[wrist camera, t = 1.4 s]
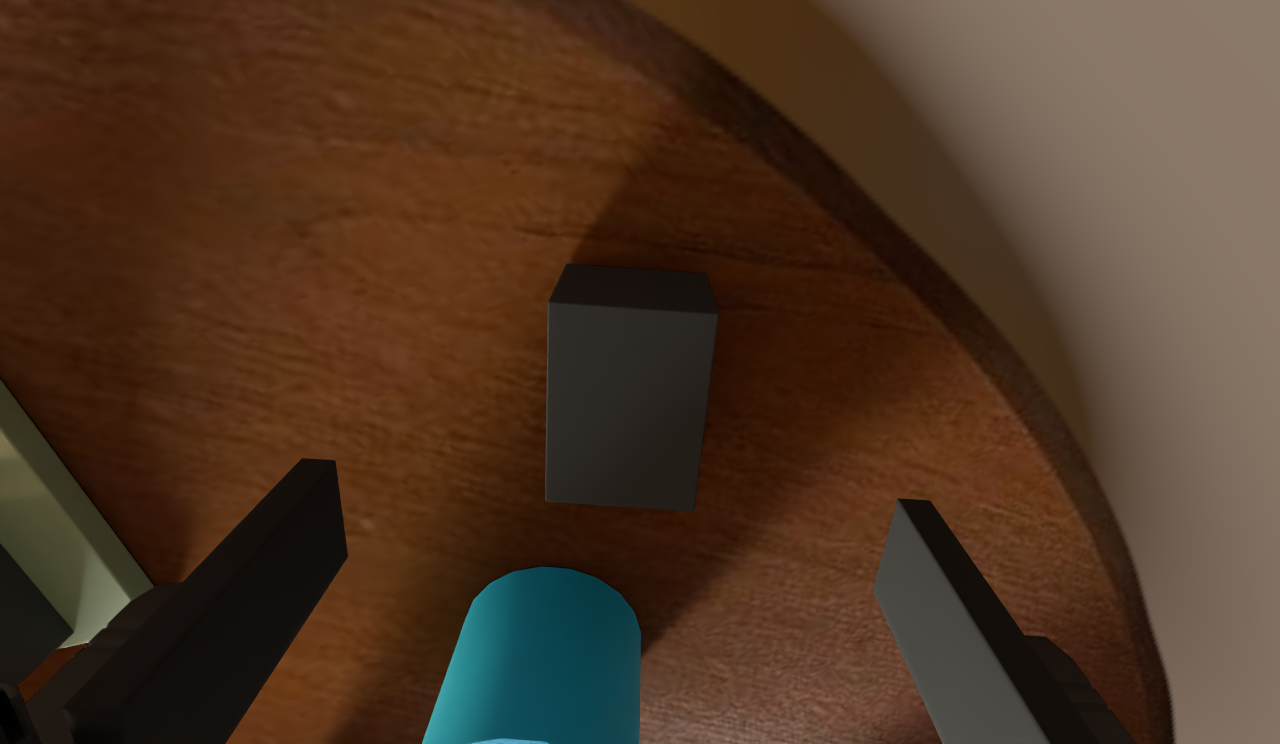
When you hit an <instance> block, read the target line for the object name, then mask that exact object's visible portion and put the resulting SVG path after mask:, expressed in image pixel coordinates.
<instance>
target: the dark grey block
mask: <svg viewBox="0 0 1280 744" xmlns="http://www.w3.org/2000/svg"><path fill="white" fill-rule="evenodd" d="M718 319H719V313H718V310H717V307H716V303H715V300H714V297H713V294H712V290H711V287H710V284H709V281H708V277H707V274H704V273H690V272H676V271H662V270H649V269H635V268H621V267H608V266H594V265H580V264H566V266H565V268H564V270H563V272H562V274H561V276H560V278H559V280H558V282H557V285H556V287H555V289H554V291H553V293H552V295H551V297H550V299H549V301H548V330H547V402H546V474H545V501H546V502H557V503H572V504H587V505H602V506H617V507H632V508H646V509H661V510H676V511H691V512H693V511H694V510H695V502H696V494H697V486H698V478H699V470H700V462H701V454H702V446H703V438H704V430H705V422H706V414H707V406H708V398H709V390H710V382H711V374H712V367H713V359H714V351H715V343H716V335H717V327H718Z"/></svg>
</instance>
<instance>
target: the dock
mask: <svg viewBox="0 0 1280 744" xmlns="http://www.w3.org/2000/svg"><path fill="white" fill-rule="evenodd" d="M153 587H154V585H153V584H152V583H151V581H150V580H149V579H148V577H147V576H146V575H145V573H144V572H143V571H142V569H141V568H140V566H139V565H138V564H137V562H136V561H135V560H134V558H133V557H132V556H131V554H130V553H129V552H128V550H127V549H126V548H125V546H124V545H123V544H122V542H121V541H120V540H119V538H118V537H117V535H116V534H115V533H114V531H113V530H112V529H111V527H110V526H109V525H108V523H107V522H106V521H105V519H104V518H103V517H102V515H101V514H100V513H99V511H98V510H97V509H96V507H95V506H94V505H93V503H92V502H91V500H90V499H89V498H88V496H87V495H86V494H85V492H84V491H83V490H82V488H81V487H80V486H79V484H78V483H77V482H76V480H75V479H74V478H73V476H72V475H71V474H70V472H69V471H68V469H67V468H66V467H65V465H64V464H63V463H62V461H61V460H60V459H59V457H58V456H57V455H56V453H55V452H54V451H53V449H52V448H51V447H50V445H49V444H48V443H47V441H46V440H45V438H44V437H43V436H42V434H41V433H40V432H39V430H38V429H37V428H36V426H35V425H34V424H33V422H32V421H31V420H30V418H29V417H28V416H27V414H26V413H25V412H24V410H23V409H22V407H21V406H20V405H19V403H18V402H17V401H16V399H15V398H14V397H13V395H12V394H11V393H10V391H9V390H8V389H7V387H6V386H5V385H4V383H3V382H2V381H1V379H0V678H4V679H7V680H9V681H12V682H14V683H17V686H18V685H19V684H20V683H21V682H22V681H23V680H24V679H26V678H27V677H28V676H29V675H30V674H31V673H32V672H33V671H34V670H35V669H36V668H37V667H38V666H39V665H40V664H41V663H43V662H44V661H45V660H46V659H47V658H48V657H49V656H50V655H51V654H52V653H53V652H54V651H55V650H56V649H60V648H65V647H69V646H74V645H78V644H82V643H87V642H89V641H90V640H91V639H92V638H93V637H94V636H95V635H96V634H97V633H98V632H99V631H100V630H101V629H102V628H106V627H107V624H108V623H109V622H110V621H111V620H112V619H113V618H114V617H115V616H116V615H117V614H118V613H119V612H120V611H121V610H122V609H123V608H124V607H125V606H126V605H127V604H128V603H129V602H130V601H132V600H133V599H135V598H137V597H138V596H140V595H141V594H143V593H145V592H146V591H148V590H150V589H151V588H153Z"/></svg>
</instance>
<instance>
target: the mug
mask: <svg viewBox="0 0 1280 744" xmlns="http://www.w3.org/2000/svg"><path fill="white" fill-rule="evenodd" d="M640 666H641V631H640V628H639V625H638V621H637V618H636V615H635V612H634V611H633V609H632V608H631V607H630V605H629V604H628V603H627V602H626V600H625V599H624V598H623V597H622V595H621V594H620V593H619V592H617V591H616V590H615V589H613V588H612V587H610V586H609V585H607V584H606V583H604V582H603V581H601V580H600V579H598V578H596V577H593V576H590V575H587V574H584V573H581V572H578V571H575V570H572V569H566V568H553V567H536V568H530V569H525V570H519V571H514V572H511V573H509V574H507V575H505V576H503V577H501V578H499V579H497V580H495V581H493V582H491V583H490V584H489V585H488V586H487V587H486V588H485V589H484V590H483V591H482V592H481V593H480V594H479V595H478V596H477V597H476V598H475V599H474V600H473V602H472V605H471V607H470V609H469V612H468V614H467V617H466V619H465V622H464V625H463V628H462V630H461V633H460V636H459V639H458V642H457V645H456V648H455V650H454V653H453V656H452V659H451V662H450V665H449V668H448V670H447V673H446V676H445V679H444V682H443V685H442V688H441V690H440V693H439V696H438V699H437V702H436V705H435V708H434V711H433V713H432V716H431V719H430V722H429V725H428V728H427V731H426V733H425V736H424V739H423V742H422V744H639V724H640Z"/></svg>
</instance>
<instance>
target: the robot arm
mask: <svg viewBox="0 0 1280 744" xmlns="http://www.w3.org/2000/svg"><path fill="white" fill-rule="evenodd" d="M347 557H348V553H347V545H346V538H345V530H344V523H343V515H342V507H341V500H340V492H339V485H338V477H337V469H336V462H335V460H320V459H305V458H302V459H301V460H300V461H299V462H298V463H297V464H296V465H295V466H294V467H293V468H292V469H291V470H290V471H289V472H288V473H287V474H286V475H285V477H284V478H283V479H282V480H281V481H280V482H279V483H278V484H277V485H276V486H275V487H274V488H273V489H272V490H271V491H270V492H269V493H268V494H267V495H266V496H265V497H264V498H263V499H262V500H261V501H260V502H259V504H258V505H257V506H256V507H255V508H254V509H253V510H252V511H251V512H250V513H249V514H248V515H247V516H246V517H245V518H244V519H243V520H242V521H241V522H240V523H239V524H238V525H237V526H236V527H235V528H234V529H233V531H232V532H231V533H230V534H229V535H228V536H227V537H226V538H225V539H224V540H223V541H222V542H221V543H220V544H219V545H218V546H217V547H216V548H215V549H214V550H213V551H212V552H211V553H210V554H209V555H208V557H207V558H206V559H205V560H204V561H203V562H202V563H201V564H200V565H199V566H198V567H197V568H196V569H195V570H194V571H193V572H192V573H191V574H190V575H189V576H188V577H187V578H186V579H185V580H184V581H183V582H182V583H172V582H161V583H160V584H158V585H156V586H155V587H153V588H151V589H150V590H148V591H146V592H145V593H143V594H141V595H140V596H138V597H137V598H135V599H133V600H132V601H130V602H129V603H128V604H127V605H126V606H125V607H124V608H123V609H122V610H121V611H120V612H119V613H118V614H117V615H116V616H115V617H114V618H113V619H112V620H111V621H110V622H109V623H108V624H107V627H106V628H102V629H101V630H100V631H99V632H98V633H97V634H96V635H95V636H94V637H93V638H92V639H91V640H90V641H89V642H88V645H87V647H86V648H82V649H81V650H80V651H79V652H78V653H77V654H76V655H75V656H74V657H73V658H72V659H71V660H70V661H68V662H67V663H66V664H65V665H64V666H63V667H62V668H61V669H60V670H59V671H58V672H57V673H56V674H55V675H54V676H53V677H52V678H51V679H50V680H49V681H48V682H47V683H46V684H45V685H44V686H43V687H42V688H41V689H40V690H39V691H38V692H37V693H36V694H34V695H33V696H32V697H31V698H30V699H29V700H28V701H27V702H26V703H25V702H24V700H23V697H22V695H21V693H20V690H19V688H18V686H17V683H14V682H12V681H9V680H7V679H4V678H0V744H225V743H226V742H227V740H228V739H229V737H230V736H231V734H232V733H233V731H234V730H235V728H236V727H237V725H238V724H239V722H240V721H241V719H242V718H243V716H244V714H245V713H246V711H247V710H248V708H249V707H250V705H251V704H252V702H253V701H254V699H255V698H256V696H257V695H258V693H259V692H260V690H261V689H262V687H263V685H264V684H265V682H266V681H267V679H268V678H269V676H270V675H271V673H272V672H273V670H274V669H275V667H276V666H277V664H278V663H279V661H280V660H281V658H282V657H283V655H284V653H285V652H286V650H287V649H288V647H289V646H290V644H291V643H292V641H293V640H294V638H295V637H296V635H297V634H298V632H299V631H300V629H301V628H302V626H303V624H304V623H305V621H306V620H307V618H308V617H309V615H310V614H311V612H312V611H313V609H314V608H315V606H316V605H317V603H318V602H319V600H320V599H321V597H322V596H323V594H324V592H325V591H326V589H327V588H328V586H329V585H330V583H331V582H332V580H333V579H334V577H335V576H336V574H337V573H338V571H339V570H340V568H341V567H342V565H343V563H344V562H345V560H346V559H347ZM873 592H874V594H875V597H876V599H877V601H878V603H879V605H880V608H881V610H882V612H883V614H884V616H885V618H886V621H887V623H888V625H889V627H890V629H891V632H892V634H893V636H894V638H895V640H896V643H897V645H898V647H899V649H900V651H901V654H902V656H903V658H904V660H905V662H906V665H907V667H908V669H909V671H910V673H911V676H912V678H913V680H914V682H915V684H916V686H917V689H918V691H919V693H920V695H921V697H922V700H923V702H924V704H925V706H926V708H927V711H928V713H929V715H930V717H931V719H932V722H933V724H934V726H935V728H936V730H937V733H938V735H939V737H940V739H941V741H942V744H1137V743H1136V742H1135V741H1134V739H1133V738H1132V737H1131V736H1130V734H1129V733H1128V732H1127V730H1126V729H1125V728H1124V726H1123V725H1122V724H1121V722H1120V721H1119V720H1118V718H1117V717H1116V716H1115V714H1114V713H1113V712H1112V710H1109V709H1108V708H1107V704H1106V702H1105V701H1104V700H1103V698H1102V697H1101V696H1100V695H1099V693H1098V692H1097V691H1096V689H1092V687H1091V683H1090V681H1089V680H1088V679H1087V677H1086V676H1085V675H1084V673H1083V672H1082V671H1081V669H1080V668H1079V667H1078V665H1077V664H1076V663H1075V661H1074V660H1073V659H1072V658H1071V657H1070V656H1068V655H1067V654H1066V653H1065V652H1064V651H1062V650H1061V649H1060V648H1059V647H1057V646H1056V645H1055V644H1054V643H1053V642H1051V641H1050V640H1049V639H1048V638H1047V637H1042V636H1026V635H1024V634H1023V633H1022V631H1021V630H1020V628H1019V627H1018V625H1017V624H1016V623H1015V621H1014V620H1013V618H1012V617H1011V615H1010V614H1009V613H1008V611H1007V610H1006V608H1005V607H1004V605H1003V604H1002V603H1001V601H1000V600H999V598H998V597H997V595H996V594H995V593H994V591H993V590H992V588H991V587H990V585H989V584H988V583H987V581H986V580H985V578H984V577H983V575H982V574H981V573H980V571H979V570H978V568H977V567H976V565H975V564H974V563H973V561H972V560H971V558H970V557H969V555H968V554H967V553H966V551H965V550H964V548H963V547H962V545H961V544H960V543H959V541H958V540H957V538H956V537H955V535H954V534H953V533H952V531H951V530H950V528H949V527H948V525H947V524H946V523H945V521H944V520H943V518H942V517H941V515H940V514H939V513H938V511H937V510H936V508H935V507H934V505H933V504H932V503H931V501H928V500H914V499H899V498H898V499H897V503H896V507H895V511H894V514H893V518H892V522H891V525H890V529H889V533H888V536H887V540H886V544H885V548H884V551H883V555H882V559H881V562H880V566H879V570H878V574H877V577H876V581H875V585H874V588H873Z"/></svg>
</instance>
